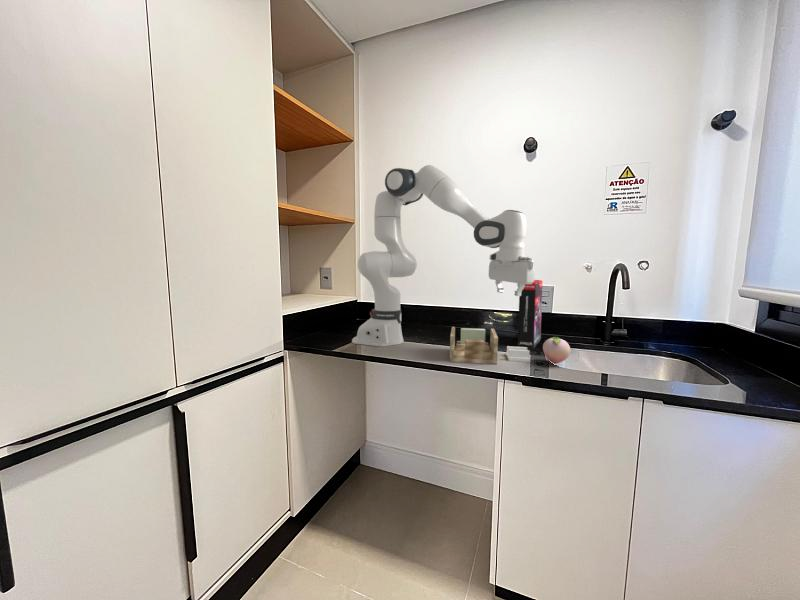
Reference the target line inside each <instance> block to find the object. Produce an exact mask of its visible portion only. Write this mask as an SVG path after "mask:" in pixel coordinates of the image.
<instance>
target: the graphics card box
mask: <svg viewBox="0 0 800 600" xmlns="http://www.w3.org/2000/svg"><path fill="white" fill-rule="evenodd" d="M518 297H519V298H518V300H519V301H518V326H517V327H518V331H517V347H527V349H535V348H536V346H537V345H538V344H539V342H540V341H541V338H542V335H541V333H542V308H543V307H542V306H543V280H540V279H534V282H533V283H532V284H525V287H524V289H523V290H522V293H521V296H518Z"/></svg>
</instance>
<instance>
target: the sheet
mask: <svg viewBox="0 0 800 600" xmlns="http://www.w3.org/2000/svg"><path fill="white" fill-rule="evenodd" d="M466 339H469V340H483V341H484V345H485V343H486V329H485V328H467V327H466V328H465V327H461V328H460V341H461V342H460V344H465V340H466Z"/></svg>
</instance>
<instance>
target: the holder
mask: <svg viewBox="0 0 800 600" xmlns="http://www.w3.org/2000/svg"><path fill="white" fill-rule="evenodd" d="M505 352H506V353H505V355H506V358H507V360H508V361H509V362H522V363H523V362H524V363H531V358H530V355H531V353H530V352H531V351H530V349H529V350H528V348H527V347H518V346H509V345H507V346H506V351H505Z"/></svg>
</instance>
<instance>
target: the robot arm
mask: <svg viewBox="0 0 800 600" xmlns="http://www.w3.org/2000/svg"><path fill="white" fill-rule="evenodd" d="M384 186H385V188H386V190H384V191H381V192H379V193H378V194H377V195H376V198H375V204H374V213H373V214H374V219H373V221H374V223H373V224H374V237H375V239H376V240H377V241H378V242H379V243H381V244H383V245H385V247H386V251H378V250H377V251H368V252H363V253H362V254H360V256H359V258H358V260H357V268H358V271H359V273H360V275H362V276H363V277H364V278H365V279H366V280H367V281H368V282H369V283H370V285H371V288H372V290H373V297H374V308H372V309H371V310H370V311H369V315H370V318H369V319H367V320H366V321H365V322H364V323H362V324H361V325H360V326H359V327H358V330H357V333H356V336H354V337H353V338H351V343H352V344H353V345H354V344H356V345H364V346H371V347H373V346H374V347H383V348H384V347H389V346H395V345H396V346H397V345H400V344H403V343H404V341H405V340H404V337H403V332H402V325H401V324H402V309H401V292H400V290H399V289H398V288H397V287H396V286H393V285H391V284H390V282H389V278H404V277H409V276H413V274H414V273H415V272H416V270H417V265H418V264H417V260H416V257H415V256H414V254H412V253H411V252H410V251H409V249H407V246H405V243H404V240H403V237H402V227H401V224H402V223H401V221H402V220H401V209H402V206H408V205H410V204H413V203H416V202H418V201H420V200H421V199H422V197H423V196H425V197H426V198H427V199H428V200H429V201H430V202H432V203H433V204H434V205H435V206H437V207H438V208H440V209H441V210H443V211H444V212H447V213H451V214H453V215H455V216H456V215H457V217H460V218H462V219H463V220H464V221H465V222H466V223H468V224H469V225H470V226H471V227H472V228H473V238H474V240H475V242H476V243H477V244H479V245H480V246H483V247H487V248H491V249H497V248H498V249H499V250H498V251H496V252H494V253H490V254H489V265H488V278H489V279H490V280H493V281H495V282H494V283H495V286H496V292H497V293H499V294H503V293H504V287H503V286H502V283H503V282H506V283H514V284H516V285H517V286H516V287H517V288H516V290H514V296H516V297H519V296H521V293H522V290H523V289H524V287H525V284H532V283H533V282H534V280H535V267H534V260H533V259H532V258H531V257H530V256H525V254H526V245H525V240H526V236H527V230H528V228H527V227H528V226H527V225H528V222H527V216H526V214H525V213H523V212H521V211H519V210H514V209H506V210H503V212H500V213H499V214H498V215H496V216H493V217H491V218H489V217H487V216H486V215H485V214H484V213H482V212H481V210H479V209H478V208H477V207H476V206H475V205H473V204H472V203H471V201H470V200H469V199H468V197H467V196H466V195H465V193H464V192H463V191H462V190H461V188H460V187H459V186H458V184H457V183H456V182H455V181H454V180H453V179H452V177H450V176H448V175H447V174H446V173H445V172H443V171H442V170H441V169H439V168H438V167H436V166H434V165H431V164H426V165H423V167H421V168H420V169H419V170H418V171H417V172H415V171H414V170H413V169H409V168H400V167H395V168H392V169H391V170H389V171H388V172H387V174H386V175H385V178H384Z"/></svg>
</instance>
